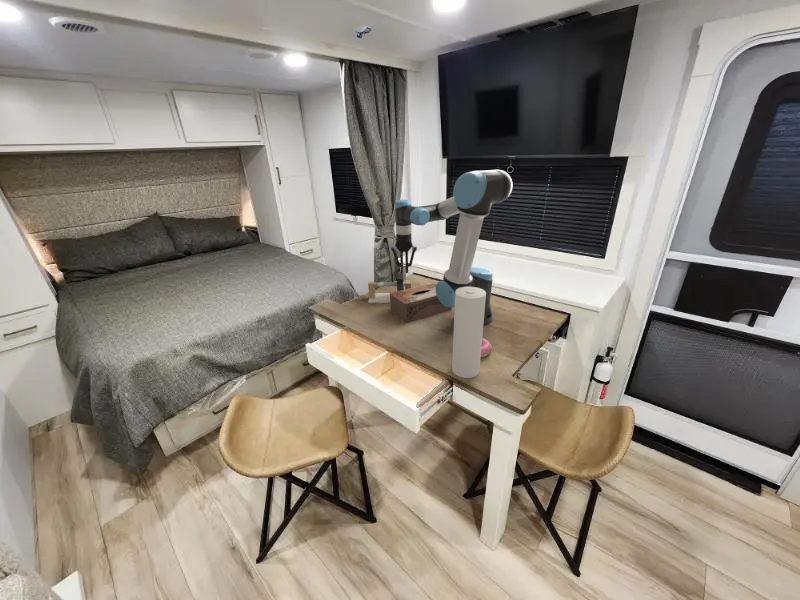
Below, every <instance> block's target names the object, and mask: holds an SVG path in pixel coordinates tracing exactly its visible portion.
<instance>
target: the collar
mask: <svg viewBox="0 0 800 600" xmlns="http://www.w3.org/2000/svg"><path fill="white" fill-rule="evenodd" d="M396 282H397V286H396V292H397V291H401V290H405V286H403V282H405V280H403V273H401V271H398V272H397V273H396Z"/></svg>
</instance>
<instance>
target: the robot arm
mask: <svg viewBox="0 0 800 600" xmlns="http://www.w3.org/2000/svg"><path fill="white" fill-rule="evenodd" d="M512 180H513V179H512V178H511V176H510V174H508V173H507V172H506V171H505V170H502V169H490V170H489V169H488V170H472V171H469V172H468V171H467V172H465V173H464V172H463V174H462V175H460V176H459V177H458V178H457V179H456V182H455V184H454V187H453V189H452V190H453V193H452V197H449V198H447V199H444V200H442V201H440V202H438V203H435V204H429V205H420V206H413V205H412V201H411V200H410V199H398V200H396V201H395V203H394V207H395V208H394V214H395V215H394V216H395V217H394V218H395V244H394V246H391V249H390V250H391V252H392V253H393V256H394V261H395V264H396V266H397V267H400V272H401V273H403V280H404V281H405V280H406V281H407V274H408V273H409V267H412V266H413V261H414V257H415V253H416V252H417V249H418V247H417V246H415V245H413V242H412V225H416V226H425V225H426V224H428V223H431V222H436V221H437V222H439V221H444V220H447V219H449V218H450V217H452V216H455V215H458V214H459V217H458V223H457V227H456V233H455V238H454V243H453V247H452V253H451V257H450V261H449V262H450V263H449V268H448V269H447V270H445V271H444V273H443V276H442V277H443V278H442V280H439V281H438V282H436V283H437V284H436V295H437V297H438V299H439V301H440V302H441V303H442V304H443V305H444V306H446V307H452V308H453V307H454V308H455V291H456V290H457V289H458V288H461V287H477V288H480V289H483V290H484V291H485V292H486V299H485V311H484V322H483V325H487V324H489V323H492V321H493V319H494V312H493V309H492V306H491V305H492V304H491V300H492V299H491V298H492V288H493V273H492V271H490V270H489V269H486V268H482V267H476V266H475V267H472V266H473V262H474V259H475V254H476V251H477V247H478V243H479V239H480V234H481V230H482V227H483V222H484V219H485V218H486V217H487V216H489V215H490V212H491V209H492V205H495V204H499V203H502V202H504V201H507V199H508V198H509V197H510V195H511V194H512V191H513V181H512ZM397 250H398V251H399V257H398V253H397ZM410 250H411V255H410V260H409V251H410ZM404 254H405V259H404ZM399 258H400V259H399ZM404 260H405V265H404Z"/></svg>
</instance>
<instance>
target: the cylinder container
mask: <svg viewBox="0 0 800 600" xmlns="http://www.w3.org/2000/svg"><path fill="white" fill-rule="evenodd" d="M485 299H486V292H485V291H484V290H483V289H480V288H477V287H461V288H458V289H457V290H456V291H455V306H454V314H453V316H454V317H453V318H454V320H453V338H452V339H453V340H452V360H451V371H452V372H453V374H454V375H456V376H457V377H460V378H464V379H472V378H475V377H477V376H478V375H479V374H480V367H481V366H480V365H481V358H482V357H481V346H482V338H483V334H484V324H483V322H484V311H485Z"/></svg>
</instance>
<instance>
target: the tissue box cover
mask: <svg viewBox="0 0 800 600" xmlns="http://www.w3.org/2000/svg"><path fill="white" fill-rule="evenodd" d="M437 283H438V282H429V283H425V284H423V285H417V286H414V287H411V288H409V289H405V288H404V290H401V291H397V290H396V291H394V292H389V293H390V303H389V305H390V306H389V307H390V313H391V314H393V315H394V316H395V317H396V318H398V319H399V320H400V321H401V322H403V323H404V324H405V325H406V324H409V323H413V322H417V321H421V320H423V319H426V318H429V317H433V316H437V315H440V314H444V313H447V312H449V311H452V310H453V307H446V306H444V305H443V304H442V303H441V302H440V301H439V299H438V297H437V295H436V284H437Z"/></svg>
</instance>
